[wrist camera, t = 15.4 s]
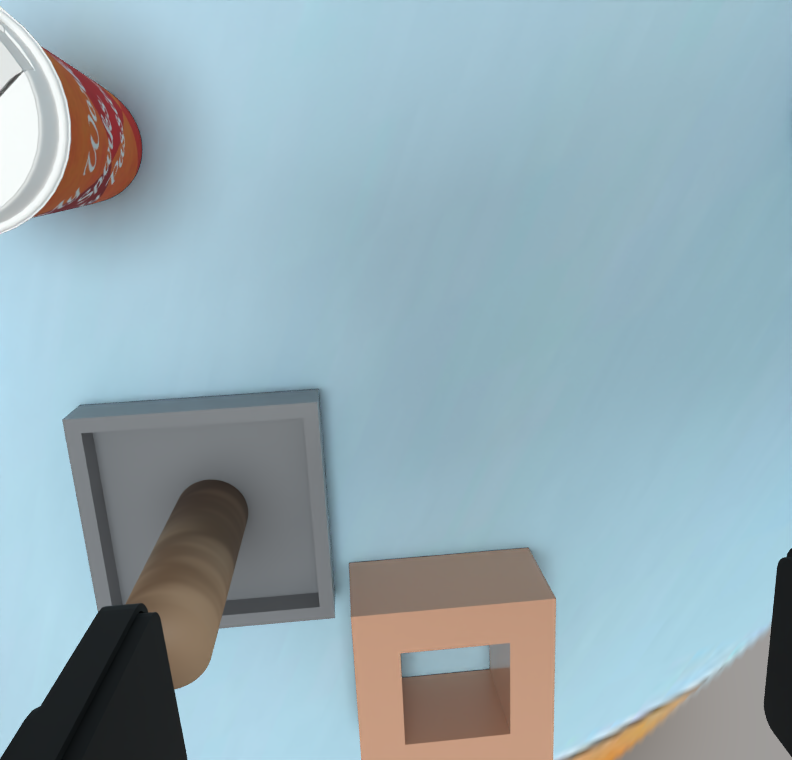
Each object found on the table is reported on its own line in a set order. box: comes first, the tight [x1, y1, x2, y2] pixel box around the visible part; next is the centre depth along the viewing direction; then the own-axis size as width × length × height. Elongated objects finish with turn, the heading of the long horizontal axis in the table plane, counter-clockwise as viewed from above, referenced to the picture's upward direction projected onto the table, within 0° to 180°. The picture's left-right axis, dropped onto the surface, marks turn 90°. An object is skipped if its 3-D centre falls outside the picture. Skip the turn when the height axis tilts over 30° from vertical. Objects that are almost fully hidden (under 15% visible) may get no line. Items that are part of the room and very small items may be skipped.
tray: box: [62, 389, 335, 628], centre depth 39 cm, size 13×13×2 cm
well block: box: [349, 548, 556, 760], centre depth 41 cm, size 11×11×6 cm
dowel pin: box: [126, 480, 248, 689], centre depth 33 cm, size 4×4×12 cm
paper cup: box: [0, 6, 142, 234], centre depth 27 cm, size 8×8×14 cm
